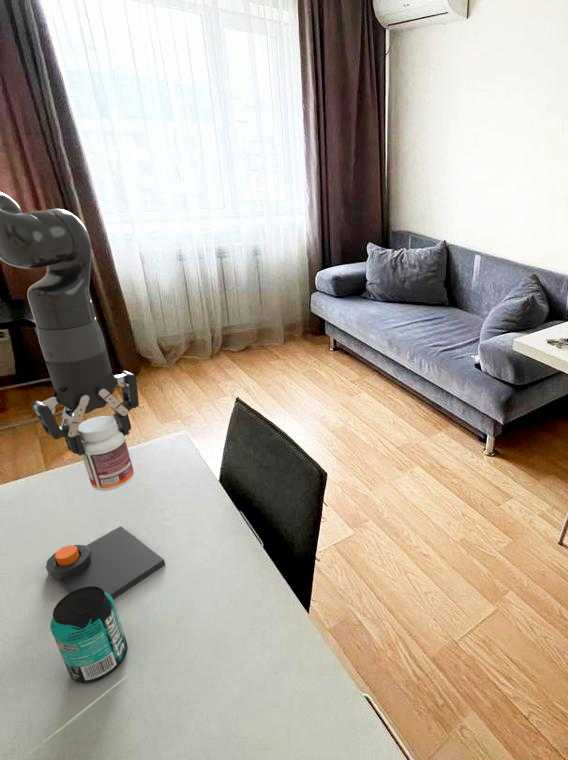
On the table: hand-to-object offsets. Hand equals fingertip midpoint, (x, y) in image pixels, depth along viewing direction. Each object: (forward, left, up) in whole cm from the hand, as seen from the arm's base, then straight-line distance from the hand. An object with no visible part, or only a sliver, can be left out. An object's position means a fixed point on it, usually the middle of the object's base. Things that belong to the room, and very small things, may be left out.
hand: (102, 442), depth 80 cm
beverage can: (+18, -14, -23) cm, 32 cm away
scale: (+2, -5, -23) cm, 24 cm away
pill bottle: (0, 0, -8) cm, 8 cm away
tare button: (-3, -8, -20) cm, 22 cm away
